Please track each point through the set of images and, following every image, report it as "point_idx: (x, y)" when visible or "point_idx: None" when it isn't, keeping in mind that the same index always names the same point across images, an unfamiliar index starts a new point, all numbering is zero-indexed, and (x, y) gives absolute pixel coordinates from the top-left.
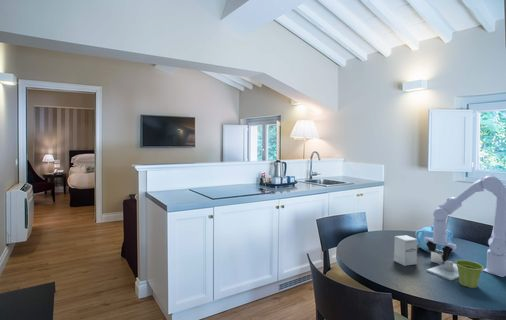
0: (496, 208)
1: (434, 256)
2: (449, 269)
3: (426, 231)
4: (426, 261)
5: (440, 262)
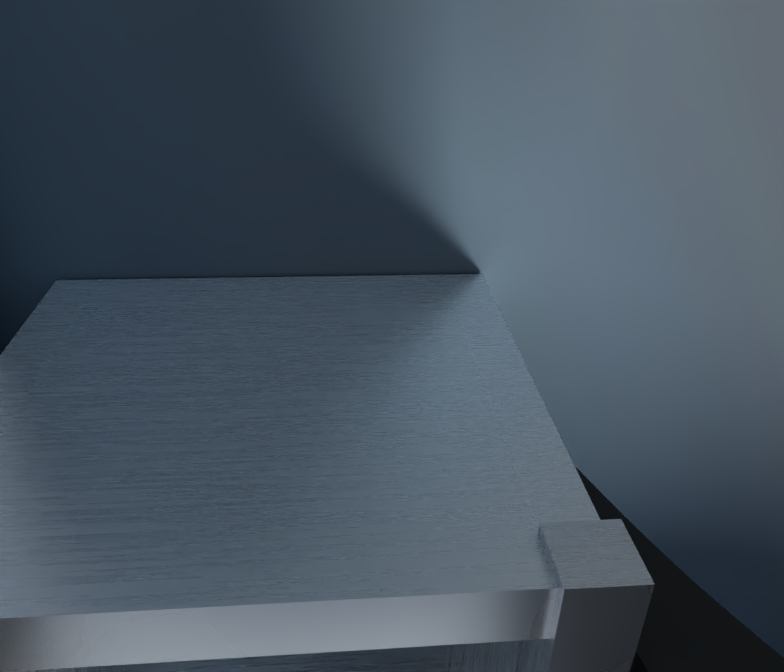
0: None
1: (355, 418)
2: None
3: None
4: (577, 108)
5: (74, 317)
